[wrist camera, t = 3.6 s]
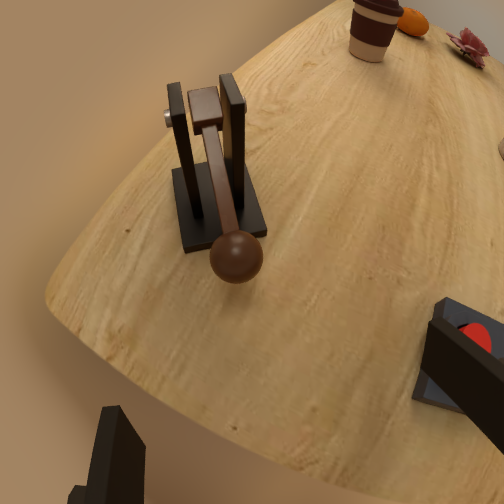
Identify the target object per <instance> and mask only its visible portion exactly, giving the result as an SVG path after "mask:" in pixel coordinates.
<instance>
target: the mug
mask: <svg viewBox="0 0 504 504" xmlns="http://www.w3.org/2000/svg"><path fill="white" fill-rule="evenodd" d="M499 151H500V154H501V156H502V158H503V159H504V138H503V139H502V141H501V142H500V144H499Z"/></svg>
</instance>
